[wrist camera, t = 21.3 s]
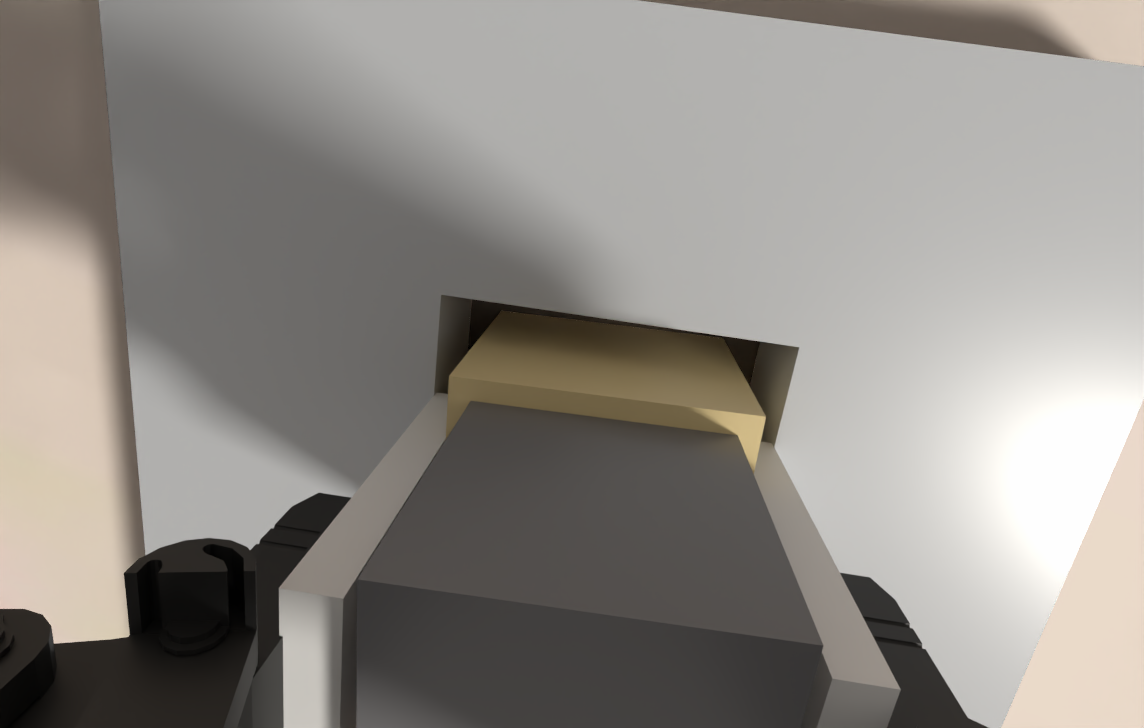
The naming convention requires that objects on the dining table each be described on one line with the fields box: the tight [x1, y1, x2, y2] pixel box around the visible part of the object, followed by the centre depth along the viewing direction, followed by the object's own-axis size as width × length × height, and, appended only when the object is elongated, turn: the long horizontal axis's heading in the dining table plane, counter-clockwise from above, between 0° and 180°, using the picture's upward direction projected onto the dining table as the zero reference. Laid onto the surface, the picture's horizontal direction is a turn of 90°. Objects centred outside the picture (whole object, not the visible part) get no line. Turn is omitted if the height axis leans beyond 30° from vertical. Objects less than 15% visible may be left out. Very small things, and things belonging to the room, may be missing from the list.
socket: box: [99, 0, 1144, 728], centre depth 16 cm, size 20×26×3 cm
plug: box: [356, 311, 823, 728], centre depth 12 cm, size 5×5×10 cm
